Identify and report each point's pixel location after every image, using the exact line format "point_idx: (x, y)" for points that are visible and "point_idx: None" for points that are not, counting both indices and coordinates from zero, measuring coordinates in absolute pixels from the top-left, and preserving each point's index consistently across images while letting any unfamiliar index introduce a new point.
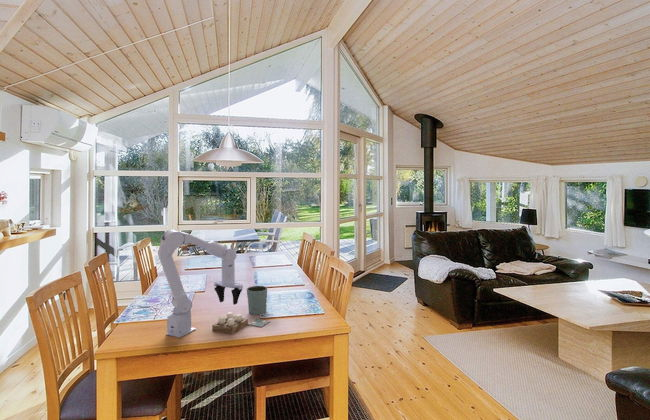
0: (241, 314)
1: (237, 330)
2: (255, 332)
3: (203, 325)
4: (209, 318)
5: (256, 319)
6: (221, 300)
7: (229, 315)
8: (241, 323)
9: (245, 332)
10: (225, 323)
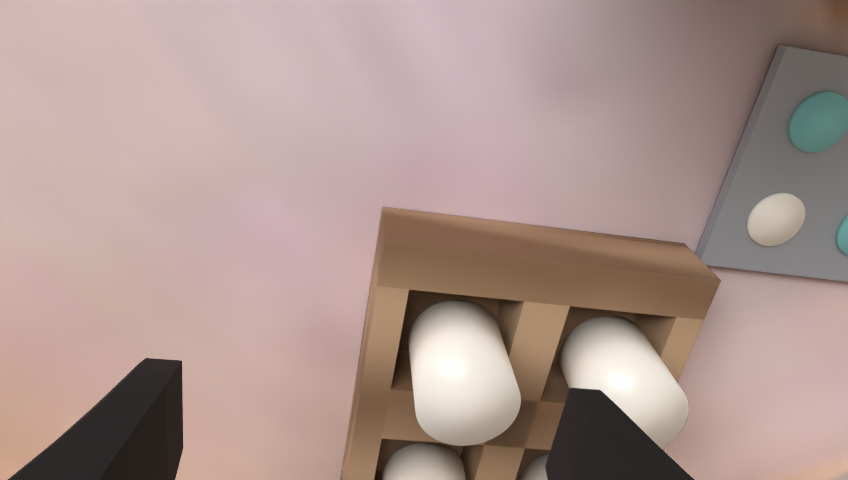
0: (676, 392)
1: None
2: (823, 405)
3: None
4: (10, 206)
5: (786, 82)
6: (172, 466)
7: (480, 430)
8: None
9: (715, 431)
10: None
